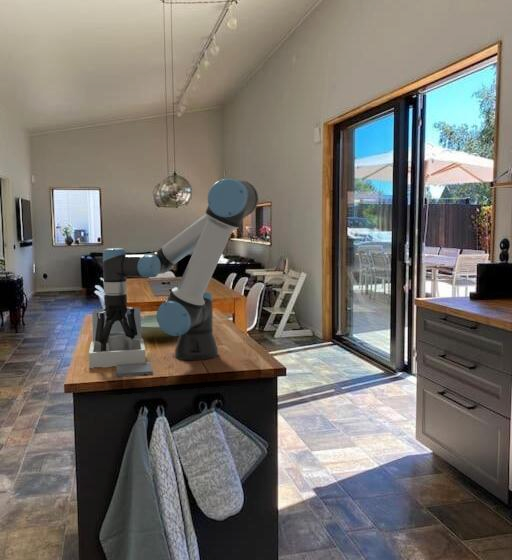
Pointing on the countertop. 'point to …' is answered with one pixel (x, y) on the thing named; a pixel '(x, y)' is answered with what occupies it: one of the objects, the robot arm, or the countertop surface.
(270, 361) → the countertop surface
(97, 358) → the cold frame
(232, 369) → the countertop surface
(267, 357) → the countertop surface
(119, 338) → the cup
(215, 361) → the countertop surface
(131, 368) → the slate tile
